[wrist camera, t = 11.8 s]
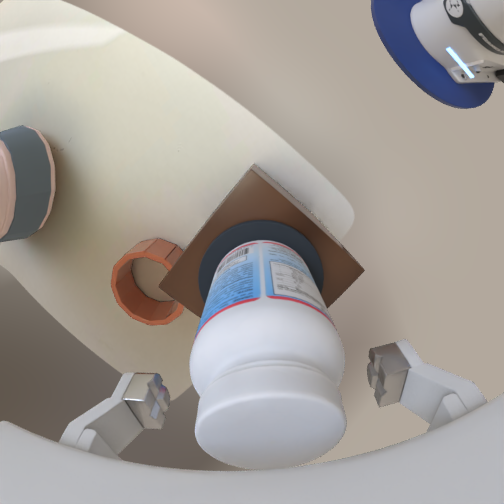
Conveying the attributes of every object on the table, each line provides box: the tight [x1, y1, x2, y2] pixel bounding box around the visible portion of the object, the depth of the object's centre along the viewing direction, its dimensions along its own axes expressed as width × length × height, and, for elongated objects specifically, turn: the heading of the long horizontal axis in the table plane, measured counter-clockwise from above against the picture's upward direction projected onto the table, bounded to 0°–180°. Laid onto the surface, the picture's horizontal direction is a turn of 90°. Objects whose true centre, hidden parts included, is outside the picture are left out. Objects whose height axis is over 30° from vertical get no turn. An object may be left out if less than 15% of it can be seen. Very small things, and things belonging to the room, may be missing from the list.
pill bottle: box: [189, 240, 347, 470], centre depth 12 cm, size 6×6×11 cm
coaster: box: [198, 220, 324, 304], centre depth 18 cm, size 8×8×1 cm
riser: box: [159, 164, 365, 318], centre depth 27 cm, size 10×10×19 cm
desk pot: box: [111, 238, 185, 325], centre depth 37 cm, size 11×11×6 cm
